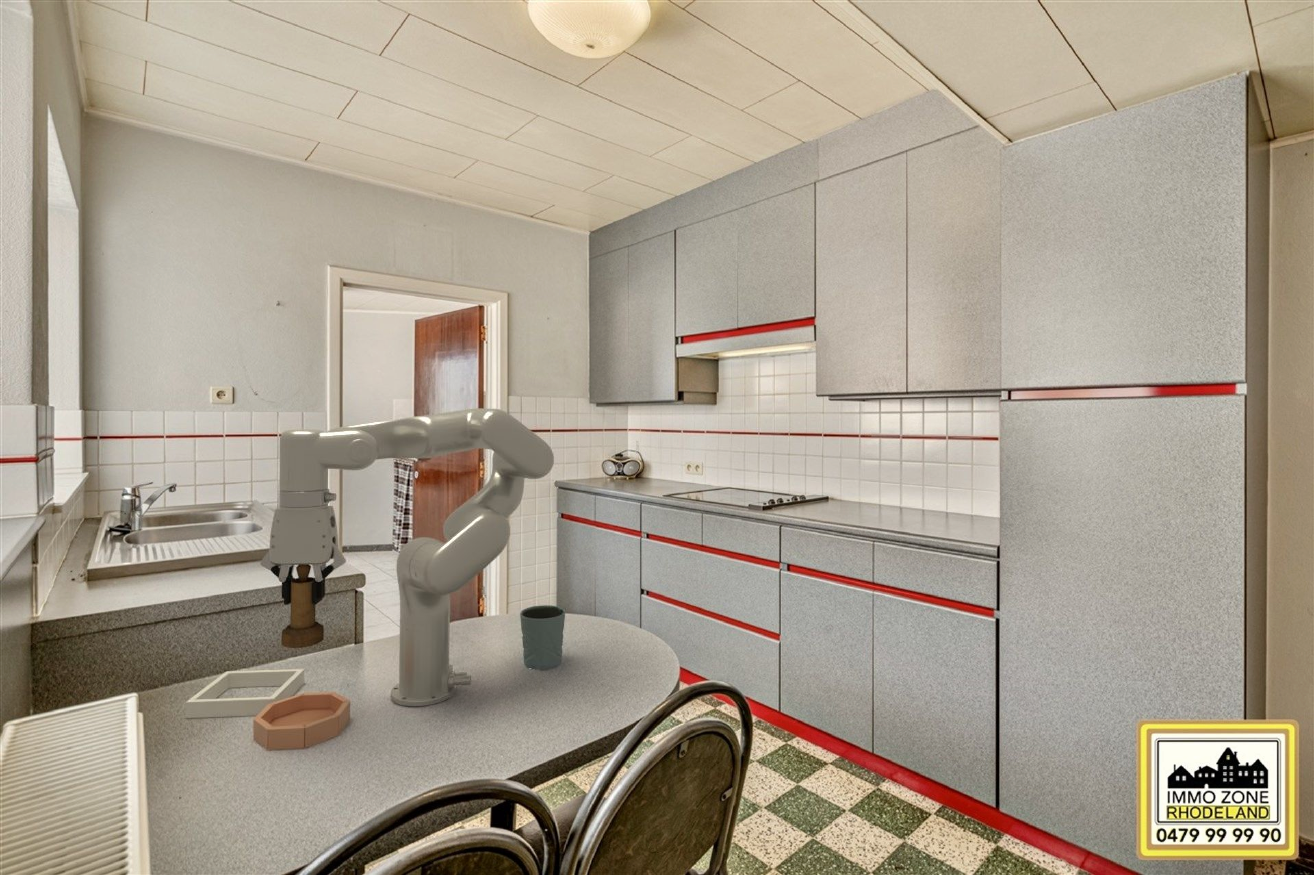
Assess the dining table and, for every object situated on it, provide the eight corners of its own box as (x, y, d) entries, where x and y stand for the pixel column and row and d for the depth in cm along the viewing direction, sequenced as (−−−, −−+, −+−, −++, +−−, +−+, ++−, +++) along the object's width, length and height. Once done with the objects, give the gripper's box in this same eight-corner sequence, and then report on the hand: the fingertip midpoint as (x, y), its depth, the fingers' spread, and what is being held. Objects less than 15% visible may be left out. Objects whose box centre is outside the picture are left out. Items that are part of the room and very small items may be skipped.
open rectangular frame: (304, 683, 132) (304, 669, 132) (273, 714, 118) (273, 699, 118) (226, 685, 130) (226, 671, 130) (185, 718, 116) (185, 702, 116)
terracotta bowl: (357, 709, 121) (357, 691, 121) (330, 747, 108) (330, 727, 108) (278, 712, 120) (278, 694, 119) (241, 751, 106) (241, 730, 106)
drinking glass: (573, 661, 148) (574, 610, 147) (543, 675, 139) (544, 621, 139) (540, 651, 153) (541, 602, 153) (509, 665, 145) (510, 612, 144)
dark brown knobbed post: (304, 650, 109) (305, 546, 108) (272, 646, 110) (273, 543, 110) (331, 637, 116) (332, 538, 115) (300, 633, 117) (301, 536, 116)
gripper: (360, 497, 117) (359, 595, 118) (263, 496, 115) (262, 597, 115) (346, 502, 110) (346, 607, 110) (242, 502, 107) (241, 609, 108)
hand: (303, 601), depth 113 cm, fingers closed on dark brown knobbed post, 3 cm apart
